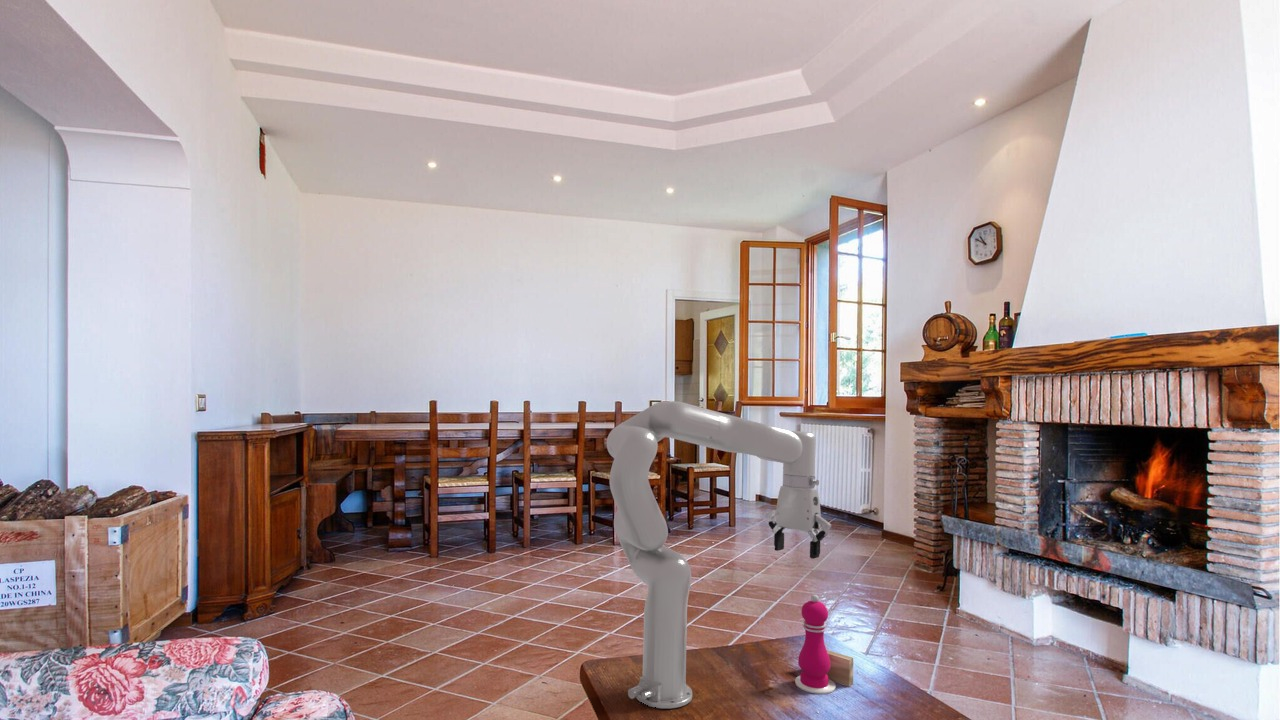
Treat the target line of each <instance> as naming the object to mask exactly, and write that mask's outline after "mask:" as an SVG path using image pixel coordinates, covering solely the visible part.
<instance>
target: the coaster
mask: <svg viewBox="0 0 1280 720" xmlns="http://www.w3.org/2000/svg"><path fill="white" fill-rule="evenodd" d="M794 681H795V682H794V684H795V686H796V687H797V688H799V689H800V690H802V691H804V692H807V693H810V694H815V695H817V694H818V695H827V694H831V693H834V692H835V691H836V682H833V681H832V680H830V679H828V686H826V687H824V688H812V687H808V686H806V685H804V684H802V683H801V681H800V675H798V676H797V677H795V680H794Z"/></svg>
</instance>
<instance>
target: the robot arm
mask: <svg viewBox="0 0 1280 720" xmlns="http://www.w3.org/2000/svg"><path fill="white" fill-rule="evenodd" d="M664 438H668V439H669V438H670V439H674V440H678V441H680V442H685V443H689V444H694V445H698V446H702V447H705V448H709V449H714V450H718V451H723V452H727V453H736V454H745V455H750V456H755V457H757V458H758V459H761V460H764V461H770V462H776V463H781V464H782V485H781V486H780V488H779V491H778V495H777V503H776V509H774V510H772V511H769V512H767V513H766V514H765V516H766V520H767V522H768V526H769V527H770V529H771V531H772V534H774V535H773V536H774V537H773V539H774V540H773V546H774V551H777V552H778V551H781V550H784V549H785V533H784V532H783V531H784V530H785V529H788V530H792V531H793V530H794V531H798V532H804V533H808V535H809V537H810V539H811V541H810V542H809V559H818V558H819V557H820V554H821V542H822V541H823V539H824V538H825V537H826V536H827V535H828V534H829V532H830V529H831V528H832V524H831V523H830V522H829V521H828V520H826V519H825V518H823V517H822V515H821V514H822V513H821V504H820V502H821V501H820V495H819V491H818V489H816V486H819V484H820V480H818V479H816V476H815V469H816V436H815V434H814V433H813V432H810V431H803V430H802V431H801V430H800V431H799V430H797V431H796V430H795V431H794V430H788V429H784V428H779V427H776V426H773V425H768V424H766V423H760V422H757V421H752V420H749V419H745V418H743V417H738V416H735V415H731V414H727V413H723V412H719V411H715V410H711V409H708V408H704V407H701V406H698V405H693V404H690V403H687V402H682V401H675V400H674V401H671V400H668V401H667V400H665V401H659V402H657V403H654V404H652V405H651V406H649V407H647V408H645V409H644V410H642V411H640V412H639V413H637V414H635V415H633V416H631V417H629V418H628V419H626V420H625V421H623V422H622V423H619V424H618V425H616V426H615V427H614V428H613V429H612V430H610V432H609V433H608V436H607V438H606V449H607V451H608V453H609V455H610V456H611V457H612V458H613V461H612V465H611V469H610V471H609V489H610V493H611V494H612V498H613V501H614V503H615V506H616V508H617V510H616V512H615V514H614V519H613V528H614V532H615V535H616V537H617V539H618V542H619V545H620V547H621V548H622V550H623V553H624V556H625V557H626V559H627V561H628V565H629V566H630V568H631V571H632V572H633V573H634V574H635V576H636V577H637V578H638V579H639V580H640V581H641V582H642V583H644V584H645V585H647V588H648V589H647V594H646V599H645V603H644V610H643V636H642V637H643V639H642V640H643V644H642V646H643V647H642V676H640V677H639V683H637V685H636V686H634V687H630V688H629V689H628V690H627V695H628V698H630V699H632V700H633V699H635V698H636V700H638V701H639V702H640V703H641V702H642V703H641V704H643V703H644V704H643V705H645V704H646V705H645V706H647V705H648V707H651V708H655V707H656V708H655V709H664V710H665V709H667V710H669V709H670V710H671V709H677V708H680V707H683V706H686V705H687V704H689V703H690V702H691V701H692V699H693V690H692V688H691V687H690V686H689V685H688V684H686V683H687V682H686V679H687V677H686V676H687V636H688V635H687V633H688V632H687V630H688V629H687V628H688V626H687V625H688V624H687V619H688V602H689V595H690V590H691V585H692V571H691V567H690V565H689V562H688V561H687V560H686V558H685V557H684V556H683V555H681V553H679V552H677V551H676V550H673V549H672V548H670V547H667V546H666V545H665V543H666V542H667V539H668V536H669V528H668V525H667V521H666V519H665V517H664V515H663V513H662V510H661V509H660V507H659V504H658V501H657V500H656V496H655V495H654V493H653V490H652V488H651V484H650V481H649V471H650V468H651V465H652V464H653V462H654V460H655V458H656V455H657V452H658V447H659V446H658V445H659V444H658V442H660V441H661V440H663V439H664ZM821 527H822V528H821ZM820 529H821V530H820ZM819 530H820V531H819Z"/></svg>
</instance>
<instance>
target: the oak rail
mask: <svg viewBox="0 0 1280 720" xmlns="http://www.w3.org/2000/svg"><path fill="white" fill-rule="evenodd" d="M826 650H827V653H828V655H829V658H830V670H829V671H828V672H827V673H826V674H827V675H828V679H830V680H832V681H833V682H834V683H835V684H836V683H837V684H839V685H843V686H846V687H848V688H849V687H852V686H853V685H854V657H851V656H850V655H849V656H848V655H845V654H842V653H838V652H835V651H832V650H828V649H826Z"/></svg>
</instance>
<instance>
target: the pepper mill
mask: <svg viewBox="0 0 1280 720" xmlns="http://www.w3.org/2000/svg"><path fill="white" fill-rule="evenodd" d="M819 599H820V597H819V595H817V594H812V595H811V596H810V600H808V601H805V602H804V603H803V604H802V607H801V612H800V614H801V617H802V618H803V620H804V621H803V629H804V630H805V632H804V633H805V634H804V635H805V636H804V643H803V645H802V648H801V650H800V652H799V654H798V664H797V665H798V666H799V669H800V670H801V672H800V675H799V676H800V681H801V683H802V684H804V685H806V686H808V687H812V688H824V687H826V686H828V675H827V674H826V673H827V672H828V671H829V670H830V658H829V655H828V653H827V650H828V649H827V648H826V644H825V639H824V638H825V637H824V633H825V631H826V625H827V624H826V621H827V620H828V618H829V612H828V608H827V606H826V605H825V604H824V603H823V602H822V601H819Z"/></svg>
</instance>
